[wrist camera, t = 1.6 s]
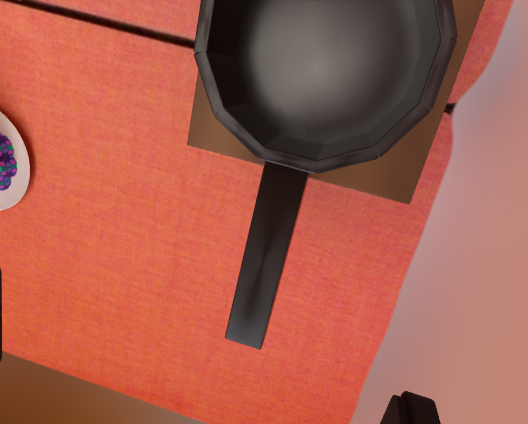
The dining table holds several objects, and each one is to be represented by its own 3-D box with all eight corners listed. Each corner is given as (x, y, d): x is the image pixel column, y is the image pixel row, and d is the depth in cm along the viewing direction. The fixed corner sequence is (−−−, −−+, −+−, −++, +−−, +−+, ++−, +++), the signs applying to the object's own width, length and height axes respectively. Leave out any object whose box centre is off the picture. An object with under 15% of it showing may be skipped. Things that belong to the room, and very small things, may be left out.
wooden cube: (444, -9, 30) (511, -72, 17) (388, 157, 35) (409, 205, 22) (278, -42, 32) (227, -123, 19) (245, 121, 37) (186, 145, 24)
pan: (251, -81, 19) (219, -130, 15) (463, -39, 18) (501, -78, 14) (188, 274, 26) (153, 316, 22) (338, 321, 25) (335, 376, 20)
